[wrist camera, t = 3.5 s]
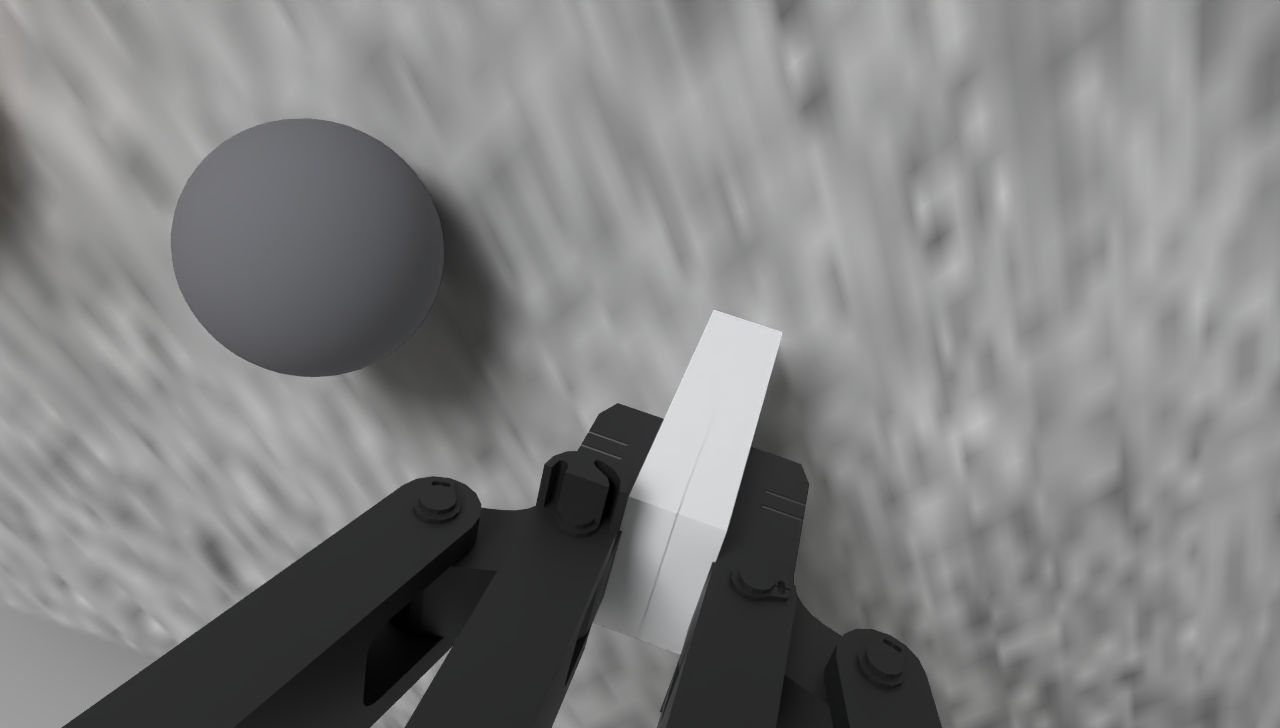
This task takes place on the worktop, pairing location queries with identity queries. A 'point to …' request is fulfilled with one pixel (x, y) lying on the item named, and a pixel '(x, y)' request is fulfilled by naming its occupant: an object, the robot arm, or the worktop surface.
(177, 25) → the worktop surface
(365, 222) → the gray ball
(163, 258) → the worktop surface
